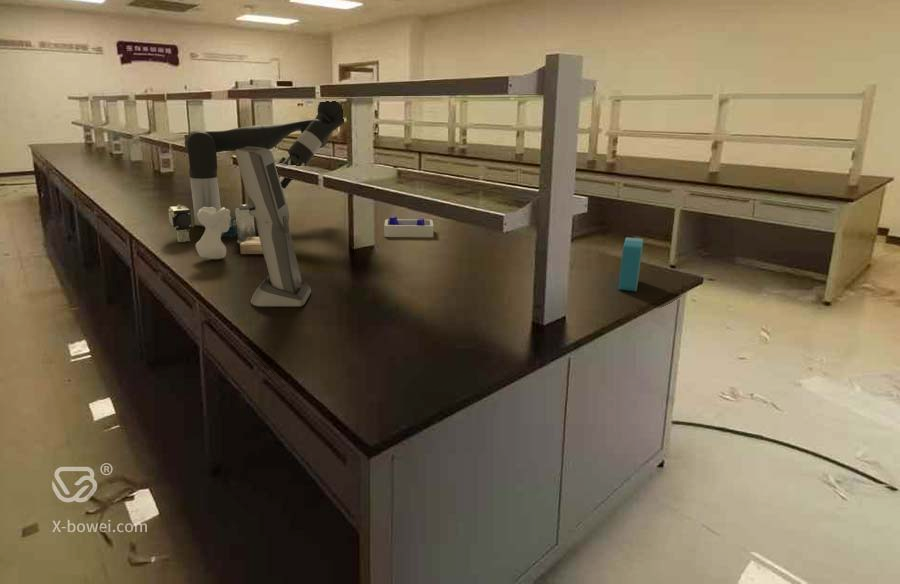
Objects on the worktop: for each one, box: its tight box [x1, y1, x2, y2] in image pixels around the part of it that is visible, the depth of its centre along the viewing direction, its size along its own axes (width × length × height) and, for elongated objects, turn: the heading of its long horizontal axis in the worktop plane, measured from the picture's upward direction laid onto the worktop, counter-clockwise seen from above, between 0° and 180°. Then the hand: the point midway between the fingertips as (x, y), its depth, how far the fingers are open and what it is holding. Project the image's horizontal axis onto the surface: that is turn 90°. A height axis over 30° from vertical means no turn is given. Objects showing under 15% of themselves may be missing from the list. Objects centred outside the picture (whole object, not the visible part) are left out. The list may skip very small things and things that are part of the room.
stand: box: [239, 236, 264, 255], centre depth 181 cm, size 10×10×3 cm
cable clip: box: [388, 215, 425, 225], centre depth 206 cm, size 12×4×6 cm, turn 73°
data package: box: [618, 237, 644, 292], centre depth 152 cm, size 12×4×12 cm, turn 161°
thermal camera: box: [234, 146, 312, 308], centre depth 133 cm, size 12×13×35 cm
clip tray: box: [383, 218, 434, 238], centre depth 207 cm, size 11×17×4 cm, turn 94°
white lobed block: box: [195, 207, 231, 260], centre depth 168 cm, size 10×11×15 cm
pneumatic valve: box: [168, 204, 193, 243], centre depth 188 cm, size 6×12×12 cm, turn 32°
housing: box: [234, 203, 256, 245], centre depth 188 cm, size 6×6×12 cm
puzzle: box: [221, 215, 238, 237], centre depth 199 cm, size 6×6×6 cm
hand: (275, 185), depth 191 cm, fingers open, 8 cm apart
